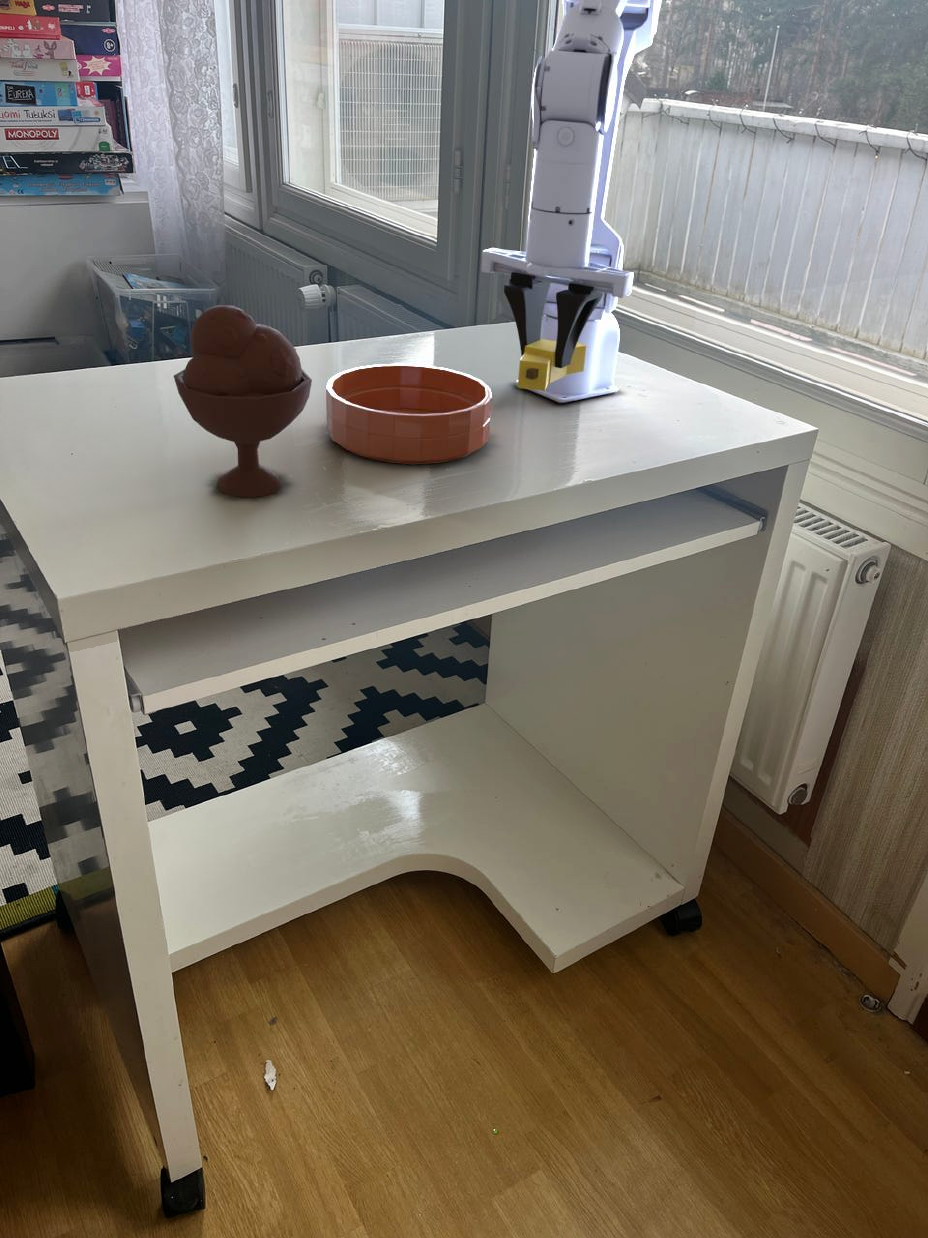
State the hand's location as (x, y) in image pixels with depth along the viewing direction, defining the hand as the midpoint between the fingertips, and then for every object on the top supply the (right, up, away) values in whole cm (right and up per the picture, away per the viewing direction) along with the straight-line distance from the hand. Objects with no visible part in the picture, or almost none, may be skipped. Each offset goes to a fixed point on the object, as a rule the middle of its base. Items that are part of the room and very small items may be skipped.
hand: (545, 361), depth 91 cm
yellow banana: (0, -1, +1) cm, 1 cm away
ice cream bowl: (-27, -13, -8) cm, 31 cm away
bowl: (-13, -6, +4) cm, 15 cm away
